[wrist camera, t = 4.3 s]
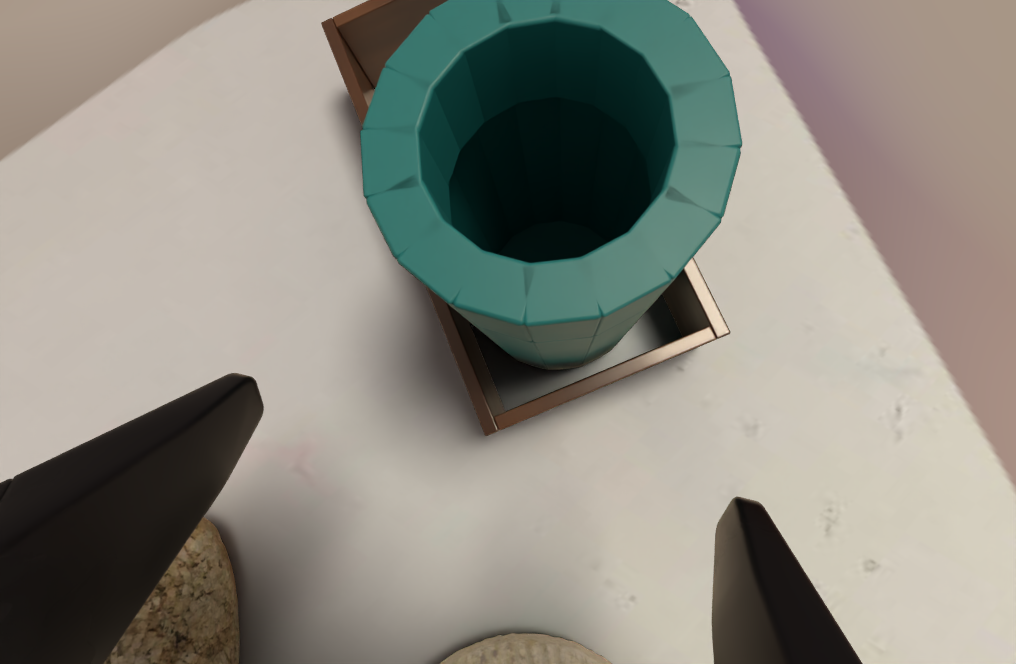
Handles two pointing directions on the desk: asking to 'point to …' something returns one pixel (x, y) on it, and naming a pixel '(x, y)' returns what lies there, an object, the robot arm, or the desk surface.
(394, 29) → the stand
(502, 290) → the jar
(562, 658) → the fossil
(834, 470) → the desk surface
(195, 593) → the stone
